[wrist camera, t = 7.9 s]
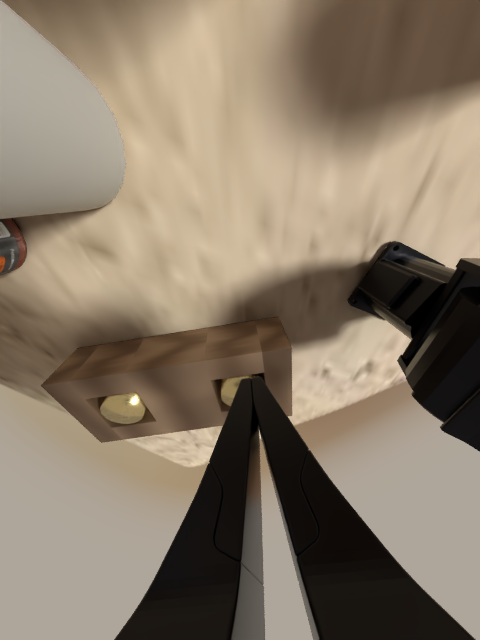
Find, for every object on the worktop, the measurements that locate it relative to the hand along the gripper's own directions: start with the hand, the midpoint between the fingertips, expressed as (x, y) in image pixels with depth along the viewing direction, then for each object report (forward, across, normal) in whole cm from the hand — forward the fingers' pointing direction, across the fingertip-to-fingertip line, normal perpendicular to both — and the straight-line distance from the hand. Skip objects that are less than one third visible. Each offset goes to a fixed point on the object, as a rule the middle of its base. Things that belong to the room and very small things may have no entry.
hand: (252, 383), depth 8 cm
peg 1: (+11, +14, +9) cm, 20 cm away
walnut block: (+12, +8, +9) cm, 17 cm away
